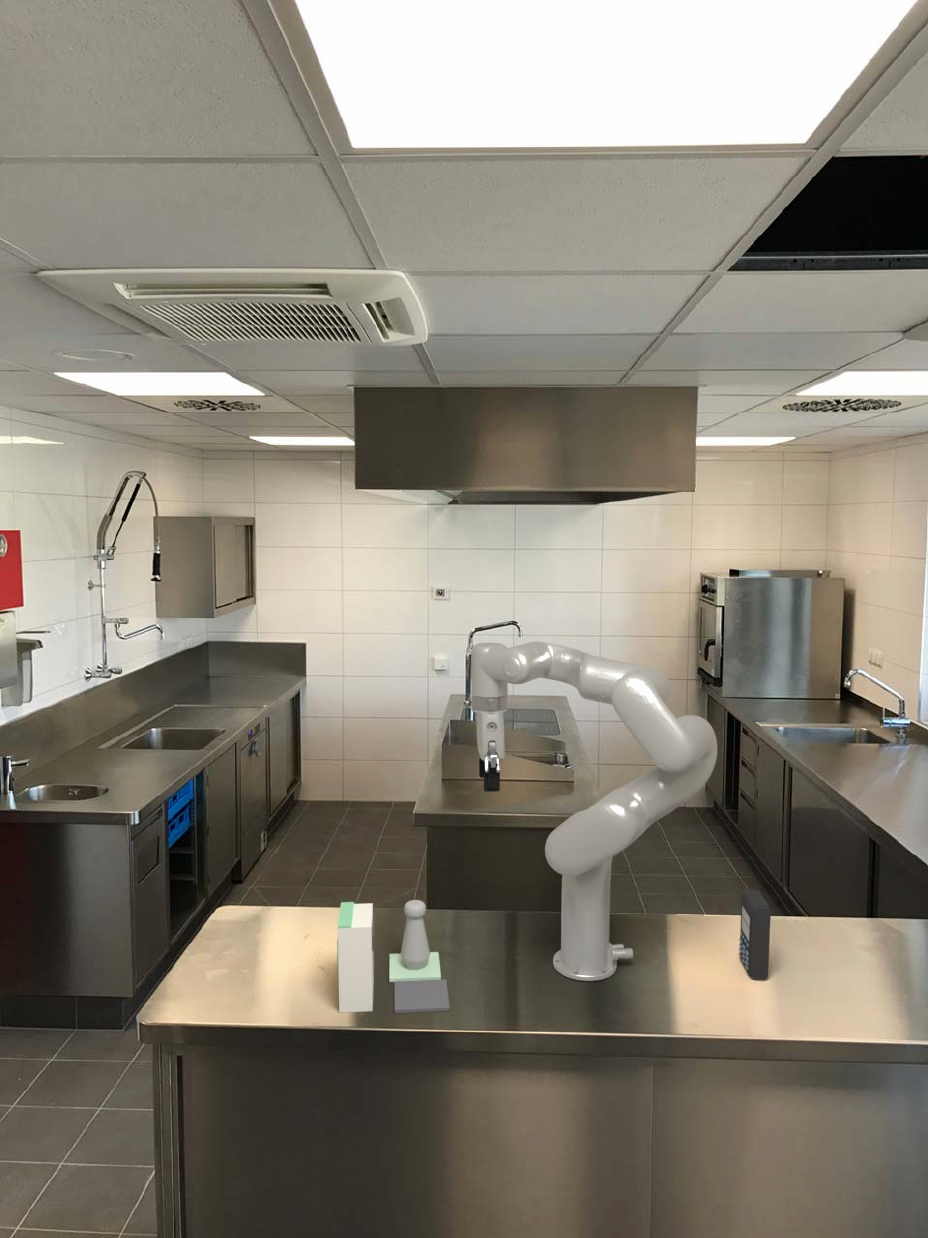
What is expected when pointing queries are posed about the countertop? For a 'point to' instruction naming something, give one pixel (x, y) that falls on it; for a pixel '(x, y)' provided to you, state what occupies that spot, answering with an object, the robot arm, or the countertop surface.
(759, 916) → the card reader
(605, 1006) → the countertop surface
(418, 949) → the salt shaker
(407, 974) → the green pad
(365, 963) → the block
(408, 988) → the grey pad
